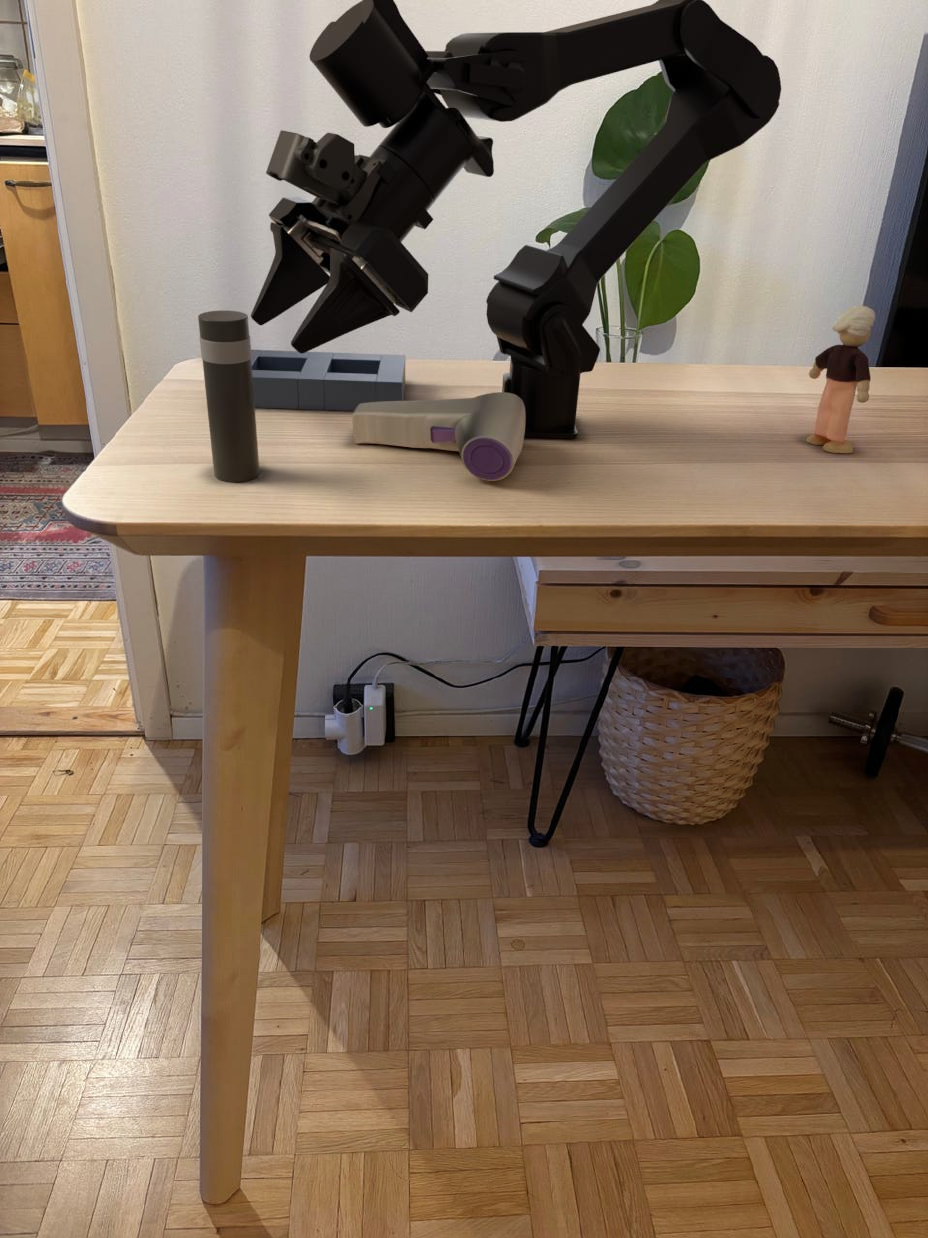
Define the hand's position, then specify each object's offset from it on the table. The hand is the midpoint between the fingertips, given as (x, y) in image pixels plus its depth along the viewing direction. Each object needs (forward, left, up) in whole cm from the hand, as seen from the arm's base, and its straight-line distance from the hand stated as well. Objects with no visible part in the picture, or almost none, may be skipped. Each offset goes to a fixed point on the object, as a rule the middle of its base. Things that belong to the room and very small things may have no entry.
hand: (274, 334), depth 71 cm
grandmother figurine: (-50, -10, -11) cm, 52 cm away
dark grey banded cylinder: (+3, +2, -11) cm, 11 cm away
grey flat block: (-1, -20, -11) cm, 23 cm away
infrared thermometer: (-13, -3, -11) cm, 17 cm away
